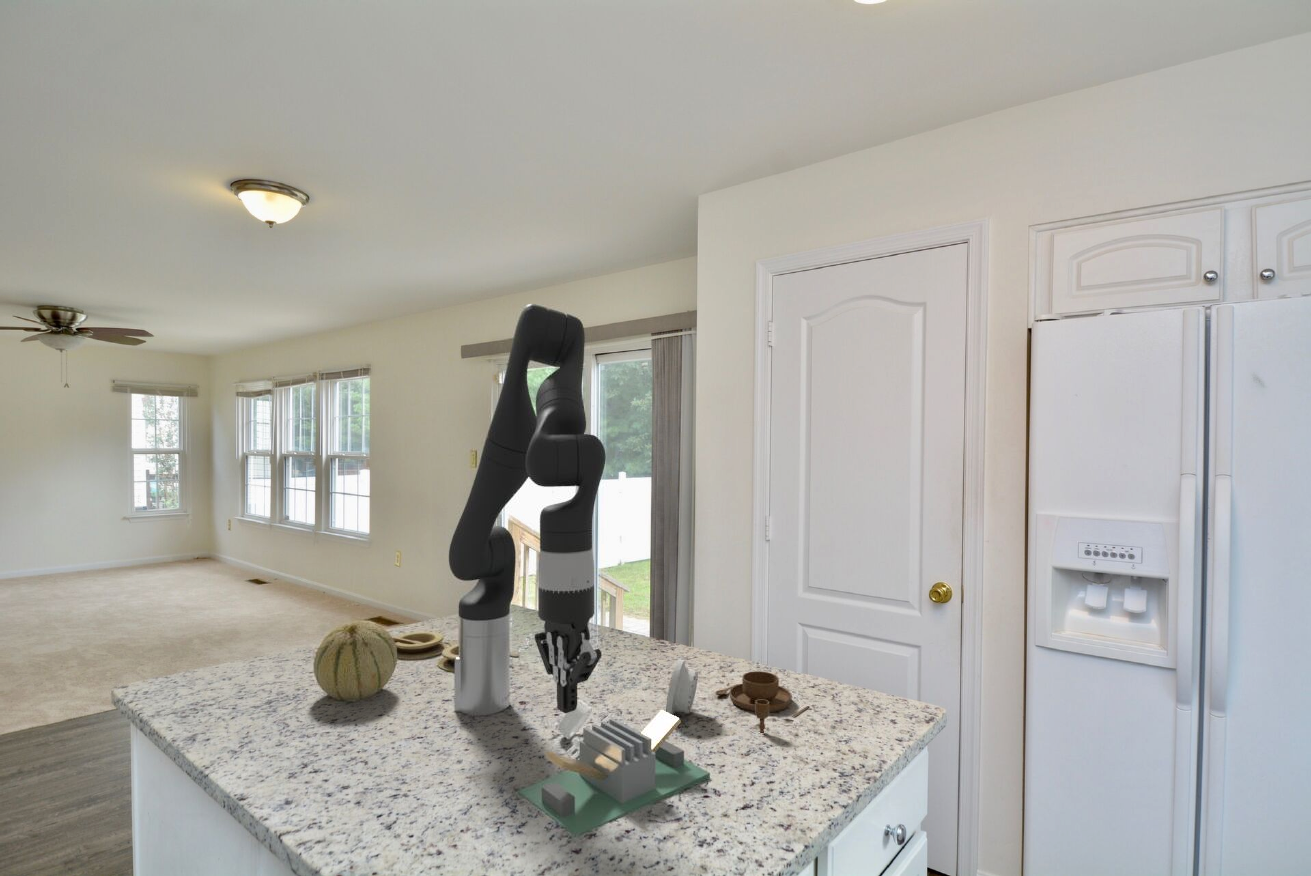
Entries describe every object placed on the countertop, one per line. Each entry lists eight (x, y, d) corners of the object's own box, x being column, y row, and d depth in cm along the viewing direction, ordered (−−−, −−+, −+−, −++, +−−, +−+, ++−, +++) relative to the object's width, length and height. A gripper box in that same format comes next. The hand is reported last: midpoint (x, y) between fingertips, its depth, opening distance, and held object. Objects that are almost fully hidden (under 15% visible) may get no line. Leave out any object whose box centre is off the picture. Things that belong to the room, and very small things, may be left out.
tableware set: (521, 657, 158) (521, 632, 158) (459, 685, 141) (459, 657, 141) (428, 637, 173) (428, 614, 172) (361, 661, 155) (361, 634, 155)
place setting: (816, 704, 132) (817, 673, 132) (768, 741, 116) (768, 707, 116) (737, 683, 143) (737, 654, 143) (682, 715, 127) (683, 683, 127)
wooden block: (646, 762, 100) (644, 758, 100) (628, 752, 103) (626, 748, 103) (680, 722, 105) (679, 718, 104) (663, 713, 108) (661, 709, 107)
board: (575, 847, 86) (575, 780, 86) (518, 801, 96) (518, 741, 96) (709, 782, 102) (710, 725, 102) (647, 748, 112) (648, 697, 112)
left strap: (561, 768, 90) (564, 761, 91) (545, 756, 93) (547, 750, 94) (603, 780, 95) (605, 774, 95) (586, 769, 98) (588, 763, 98)
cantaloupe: (388, 678, 143) (388, 606, 142) (405, 702, 130) (405, 623, 130) (308, 693, 134) (308, 616, 134) (319, 720, 122) (319, 636, 122)
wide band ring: (575, 702, 125) (592, 675, 123) (617, 740, 122) (635, 712, 120) (519, 744, 108) (539, 713, 107) (566, 789, 105) (587, 758, 104)
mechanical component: (671, 701, 131) (680, 651, 130) (693, 707, 130) (703, 657, 129) (660, 724, 121) (670, 669, 121) (685, 730, 120) (695, 675, 120)
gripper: (619, 586, 90) (619, 717, 90) (562, 570, 100) (562, 689, 100) (571, 595, 85) (572, 734, 85) (516, 578, 95) (517, 703, 95)
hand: (566, 710), depth 93 cm, fingers closed
